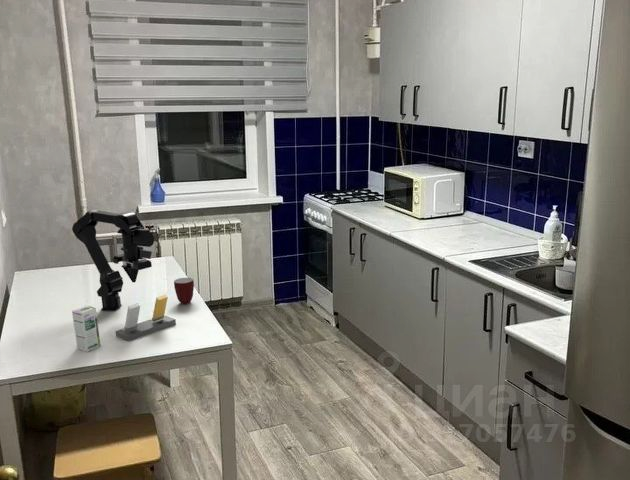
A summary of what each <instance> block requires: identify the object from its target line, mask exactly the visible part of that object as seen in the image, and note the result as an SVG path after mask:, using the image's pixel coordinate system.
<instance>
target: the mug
mask: <svg viewBox="0 0 630 480" xmlns="http://www.w3.org/2000/svg"><path fill="white" fill-rule="evenodd" d="M173 287H174V291H175V295H176V298H177V300H178V302H179V303H180V304H181V305H189V304H191V302H192V299H193V297H194V289H195V288H194V287H195V283H194V279H193V278H191V277H180V278H177V279H174V281H173Z"/></svg>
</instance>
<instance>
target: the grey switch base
mask: <svg viewBox="0 0 630 480" xmlns="http://www.w3.org/2000/svg"><path fill="white" fill-rule="evenodd" d="M176 321H177V320H176V319H175V318H173V317H170V316H169V315H168V316H167V315H165V314H164V318H163V319H160V320H157V321H154V322H153V321H152V318H150V319H147V320H144V321H141V322H137V328H134V329H131V330H129V331H125V330H124V328H121V329H118V330H115V337H117V338H119V339H122V340H124V341H126V342H132V341H134V340H136V339H139V338H142V337H144V336H148V335H150V334H152V333H153V334H154V333H155V332H158V331H161V330H164V329H166V328H170V327H173V326H175V325H177V323H176Z"/></svg>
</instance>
